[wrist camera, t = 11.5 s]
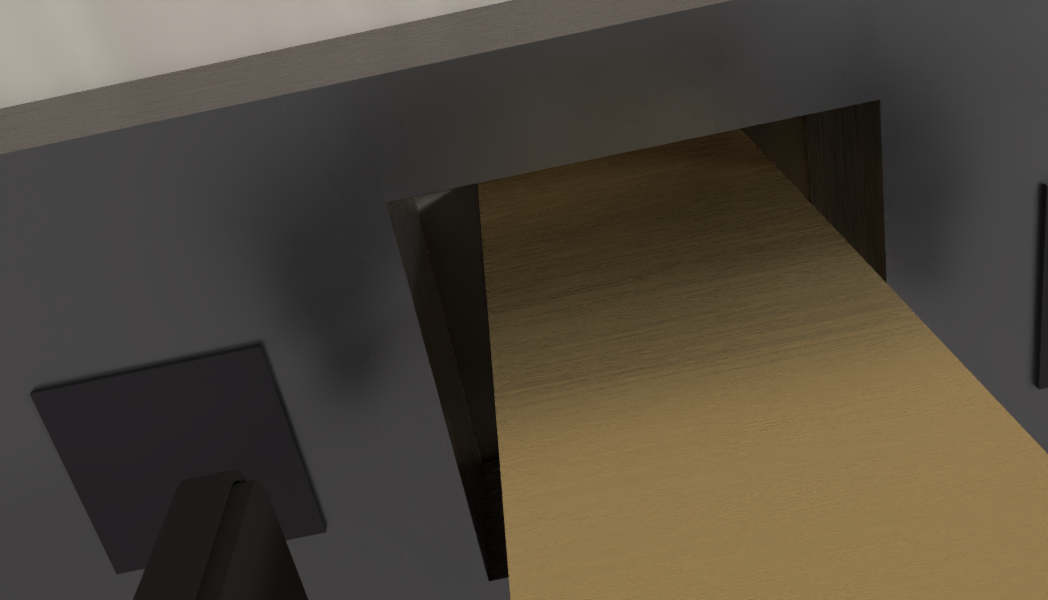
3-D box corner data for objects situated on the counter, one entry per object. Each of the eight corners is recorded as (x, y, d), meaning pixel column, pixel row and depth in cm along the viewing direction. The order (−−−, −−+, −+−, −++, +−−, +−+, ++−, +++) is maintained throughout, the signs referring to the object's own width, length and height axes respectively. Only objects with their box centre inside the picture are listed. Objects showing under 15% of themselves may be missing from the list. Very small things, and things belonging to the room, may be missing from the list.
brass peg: (477, 180, 15) (517, 706, 6) (737, 125, 15) (1165, 579, 6) (528, 401, 17) (617, 1063, 8) (762, 354, 17) (1122, 969, 8)
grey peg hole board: (-111, 132, 14) (-247, 207, 11) (1293, -165, 14) (1508, -162, 11) (121, 606, 18) (62, 748, 15) (1221, 386, 18) (1365, 492, 15)
